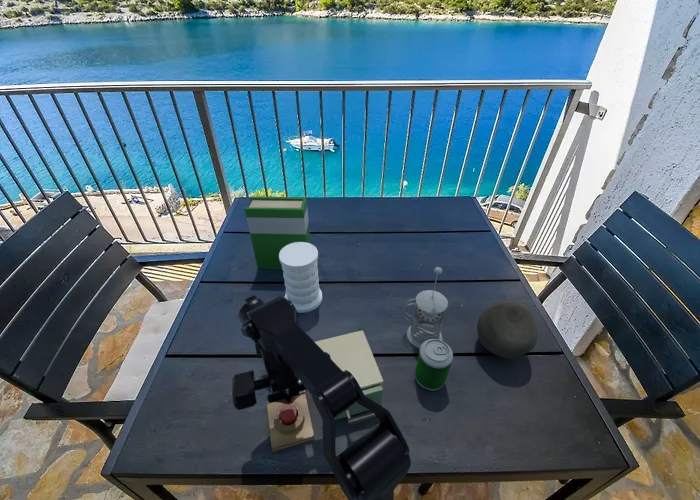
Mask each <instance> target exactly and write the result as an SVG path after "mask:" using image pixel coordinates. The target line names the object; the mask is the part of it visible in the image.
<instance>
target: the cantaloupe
mask: <svg viewBox="0 0 700 500" xmlns="http://www.w3.org/2000/svg"><path fill="white" fill-rule="evenodd" d="M476 331H477V337H478V339H479V342H480V343H481V345H482V346H483V347H484V349H485V350H486V351H488V352H490V353H491V354H493V355H495V356H498V357H501V358H505V359H514V358H519V357H522V356H524V355H526V354H528V353H529V352H531V351H532V350H533V349H534V348H535V346H536V344H537V341H538V337H539V330H538V325H537V321H536V319H535V316H534V315H533V313H532V311H531V310H530V309H529V308H528V307H527V306H525V305H523V304H521V303H519V302H517V301H512V300H506V301H499V302H494V303H492V304H490V305H489V306H488V307H485V308H484V310H483V311H482V313H481V314H480V315H479V317H478V320H477V323H476Z"/></svg>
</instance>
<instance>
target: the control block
mask: <svg viewBox="0 0 700 500" xmlns="http://www.w3.org/2000/svg"><path fill="white" fill-rule="evenodd" d="M308 404H309V403H308V399H307V395H306V393H305V394H302V395H301V396H299V397H298V398H297V399H296V400H295V401H294V402H293V403H292V404H288V405H293V406H294V407H295V408H296V411H297V419H296V420H295V422H294V423H292V424H289V425H286V424H284V423H283V422H282V421H281V418H280V410H281V409H282V408H283V407H284V406H285V405H287V404H284V403H277V402H272V403H267V404H266V410H267V411H266V412H267V418H268V420H267V421H268V428H269V437H270V438H269V439H270V445H271V451H272V453H275V452H278V451H281V450H285V449H288V448H291V447H295V446H298V445H301V444H305V443H307V442H308V443H309V442H310V441H311V442H312V441H314V440H315V439H316V438H315V433H314V428H313V423H312V419H311V414H310V409H309V405H308Z"/></svg>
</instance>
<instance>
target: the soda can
mask: <svg viewBox="0 0 700 500" xmlns="http://www.w3.org/2000/svg"><path fill="white" fill-rule="evenodd" d="M453 352H454V351H453V350H452V348H451V347H450V346H449V344H448V343H446V342H445V341H443V340H442V341H441V340H437V339H430V340H427V341H425V342H424V343H423V344H422V345H421V347H420V348H419V352H418V356H417V361H416V364H415V365H416V366H415V371H414V377H415V380H416V382H417V384H418V386H420V387H422V389H425V390H427V391H433V392H434V391H439V390H441V389H442V388H443V387H444V386H445V384H446V381H447V378H448V375H449V371H450V368H451V366H452V362H453V359H454V353H453Z"/></svg>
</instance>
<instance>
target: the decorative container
mask: <svg viewBox="0 0 700 500" xmlns="http://www.w3.org/2000/svg"><path fill="white" fill-rule="evenodd" d="M310 243H311V242H310ZM310 243H306V242H295V243H291V244H289V245H286V246H285V247H284V248H282V250H281V251H280V253H279V260H280V263H281V264H282V269H281V270H282V271H283V273H282V276H283V279H284V287H285V295H284V297H285V298H286V299H287V300H290V301H291V302H292V303H293V305H294V306H295V308H296V310H297V313H309V312H313V311H314V310H316V309H317V308H318V307H320V305H321V304H322V302H323V292H322V290H321V288H320V284H319V281H320V279H319V269H318V259H319V249H317V247H316V246H315V245H314V244H312V243H311V244H310Z"/></svg>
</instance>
